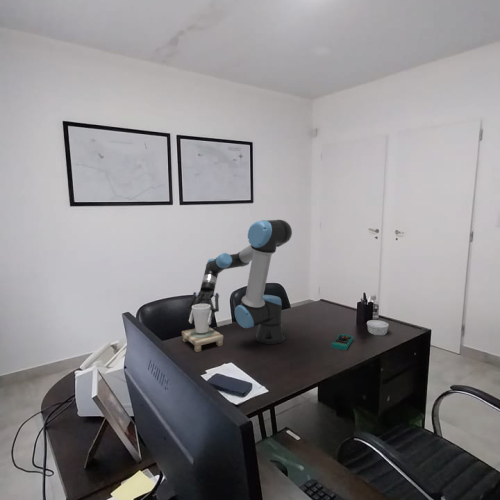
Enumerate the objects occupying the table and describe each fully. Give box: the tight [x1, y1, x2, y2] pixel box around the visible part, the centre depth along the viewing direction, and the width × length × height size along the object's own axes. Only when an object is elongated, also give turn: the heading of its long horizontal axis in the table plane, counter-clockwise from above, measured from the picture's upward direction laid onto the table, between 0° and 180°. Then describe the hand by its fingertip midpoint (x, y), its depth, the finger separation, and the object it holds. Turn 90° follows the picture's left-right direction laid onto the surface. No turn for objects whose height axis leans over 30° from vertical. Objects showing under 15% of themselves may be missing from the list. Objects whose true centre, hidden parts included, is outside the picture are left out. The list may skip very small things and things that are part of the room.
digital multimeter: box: [331, 333, 354, 351], centre depth 171 cm, size 7×15×3 cm, turn 150°
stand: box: [181, 326, 224, 353], centre depth 174 cm, size 18×15×5 cm
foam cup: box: [192, 303, 212, 333], centre depth 173 cm, size 10×9×13 cm
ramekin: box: [366, 319, 390, 336], centre depth 185 cm, size 11×11×5 cm
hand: (199, 322), depth 170 cm, fingers closed on foam cup, 9 cm apart
